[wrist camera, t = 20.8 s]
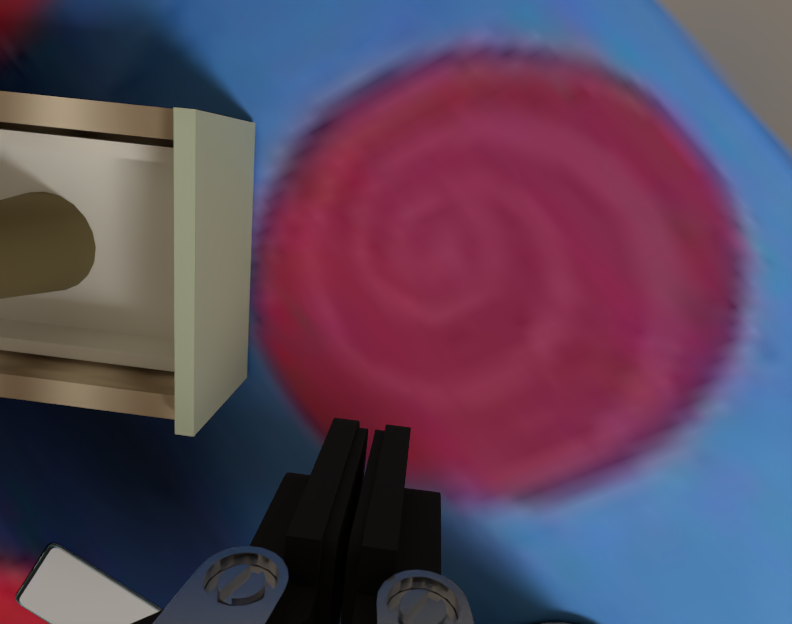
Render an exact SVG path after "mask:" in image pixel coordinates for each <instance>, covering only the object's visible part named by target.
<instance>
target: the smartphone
mask: <svg viewBox="0 0 792 624" xmlns="http://www.w3.org/2000/svg"><path fill="white" fill-rule="evenodd" d="M16 601H17V602H18V603H19V604H20V605H21V606H22V607H24V608H26V609H27V610H29V611H31V612H32V613H34V614H35V615H37V616H39V617H40V618H42V619H43V620H45V621H47V622H48V623H50V624H131V623H133V622H136V621H138V620H140V619H143V618H145V617H147V616H150V615H152V614H154V613H156V612H159V611H161V610H162V609H160V608H159V607H157V606H155V605H154V604H152V603H151V602H149V601H148V600H146V599H144V598H143V597H141V596H140V595H138V594H136V593H135V592H133V591H132V590H130V589H129V588H127V587H125V586H124V585H122V584H121V583H119V582H117V581H116V580H114V579H113V578H111V577H110V576H108V575H106V574H105V573H103V572H102V571H100V570H98V569H97V568H95V567H94V566H92V565H91V564H89V563H87V562H86V561H84V560H83V559H81V558H79V557H78V556H76V555H75V554H73V553H72V552H70V551H68V550H67V549H65V548H64V547H62V546H60V545H58V544H51V545H49V546H48V547H47V549H46V550H45V552H44V553H43V555H42V556H41V558H40V560H39V561H38V563H37V564H36V566H35V567H34V569H33V570H32V572H31V573H30V575H29V577H28V578H27V580H26V581H25V583H24V584H23V586H22V587H21V589H20V591H19V592H18V594H17V595H16Z"/></svg>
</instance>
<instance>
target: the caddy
mask: <svg viewBox="0 0 792 624" xmlns="http://www.w3.org/2000/svg"><path fill="white" fill-rule="evenodd" d="M0 128H4V129H13V130H22V131H32V132H41V133H50V134H60V135H69V136H79V137H88V138H97V139H107V140H116V141H125V142H135V143H144V144H153V145H163V146H172V147H174V113H173V109H170V108H161V107H151V106H141V105H132V104H122V103H112V102H103V101H93V100H83V99H74V98H64V97H55V96H45V95H35V94H26V93H16V92H6V91H0ZM0 397H5V398H13V399H20V400H28V401H36V402H43V403H51V404H59V405H67V406H74V407H82V408H90V409H97V410H105V411H113V412H120V413H128V414H136V415H143V416H151V417H159V418H166V419H174V420H175V372H172V371H164V370H156V369H148V368H140V367H132V366H124V365H116V364H109V363H101V362H93V361H85V360H77V359H69V358H61V357H53V356H45V355H37V354H29V353H21V352H13V351H6V350H0Z"/></svg>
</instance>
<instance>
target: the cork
mask: <svg viewBox="0 0 792 624" xmlns="http://www.w3.org/2000/svg"><path fill="white" fill-rule="evenodd" d="M95 251H96V246H95V241H94V236H93V231H92V230H91V228H90V226H89V224H88V222H87V220H86V218H85V216H84V215H83V214H82V213H81V212H80V211H79V210H78V209H77V208H76V207H75V205H74V204H72V203H70V202H69V201H67V200H66V199H64V198H62V197H61V196H59V195H55V194H51V193H48V192H29V193H25V194H21V195H17V196H14V197H10V198H6V199H2V200H0V299H2V298H10V297H17V296H25V295H32V294H39V293H47V292H54V291H62V290H67V289H69V288H71V287H74V286H76V285H78V284H79V283H80V282H82V281H83V280H84V279H85V278H86V277H87V276H88V274H89V272H90V270H91V268H92V266H93V264H94V260H95Z"/></svg>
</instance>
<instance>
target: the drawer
mask: <svg viewBox="0 0 792 624" xmlns="http://www.w3.org/2000/svg"><path fill="white" fill-rule="evenodd" d="M173 113H174V147H172V146H163V145H153V144H144V143H135V142H125V141H116V140H107V139H97V138H88V137H79V136H69V135H60V134H50V133H41V132H32V131H22V130H13V129H4V128H0V200H2V199H6V198H10V197H14V196H17V195H21V194H25V193H29V192H48V193H51V194H55V195H59V196H61V197H62V198H64V199H66V200H67V201H69V202H70V203H72V204H74V205H75V207H76V208H77V209H78V210H79V211H80V212H81V213H82V214H83V215H84V216H85V218H86V220H87V222H88V224H89V226H90V228H91V230H92V231H93V236H94V241H95V246H96V251H95V260H94V264H93V266H92V268H91V270H90V272H89V274H88V276H87V277H86V278H85V279H84V280H83V281H82V282H80V283H79V284H78V285H76V286H74V287H71V288H69V289H67V290H62V291H54V292H47V293H39V294H32V295H25V296H17V297H10V298H2V299H0V350H6V351H13V352H21V353H29V354H37V355H45V356H53V357H61V358H69V359H77V360H85V361H93V362H101V363H109V364H116V365H124V366H132V367H140V368H148V369H156V370H164V371H172V372H175V434H177V435H184V436H192V437H194V436H195V435H196V434H197V432H198V431H199V430H200V429H201V428H202V427H203V426H204V425H205V424H206V423H207V421H208V420H209V419H210V418H211V417H212V416H213V415H214V414H215V413H216V411H217V410H218V409H219V408H220V407H221V406H222V405H223V404H224V403H225V401H226V400H227V399H228V398H229V397H230V396H231V395H232V394H233V393H234V392H235V390H236V389H237V388H238V387H239V386H240V385H241V384H242V383H243V382H244V380H245V379H246V378H247V361H248V331H249V301H250V270H251V240H252V210H253V180H254V150H255V123H253V122H248V121H244V120H239V119H235V118H231V117H226V116H222V115H218V114H213V113H209V112H205V111H200V110H196V109H187V108H177V107H173Z"/></svg>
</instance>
